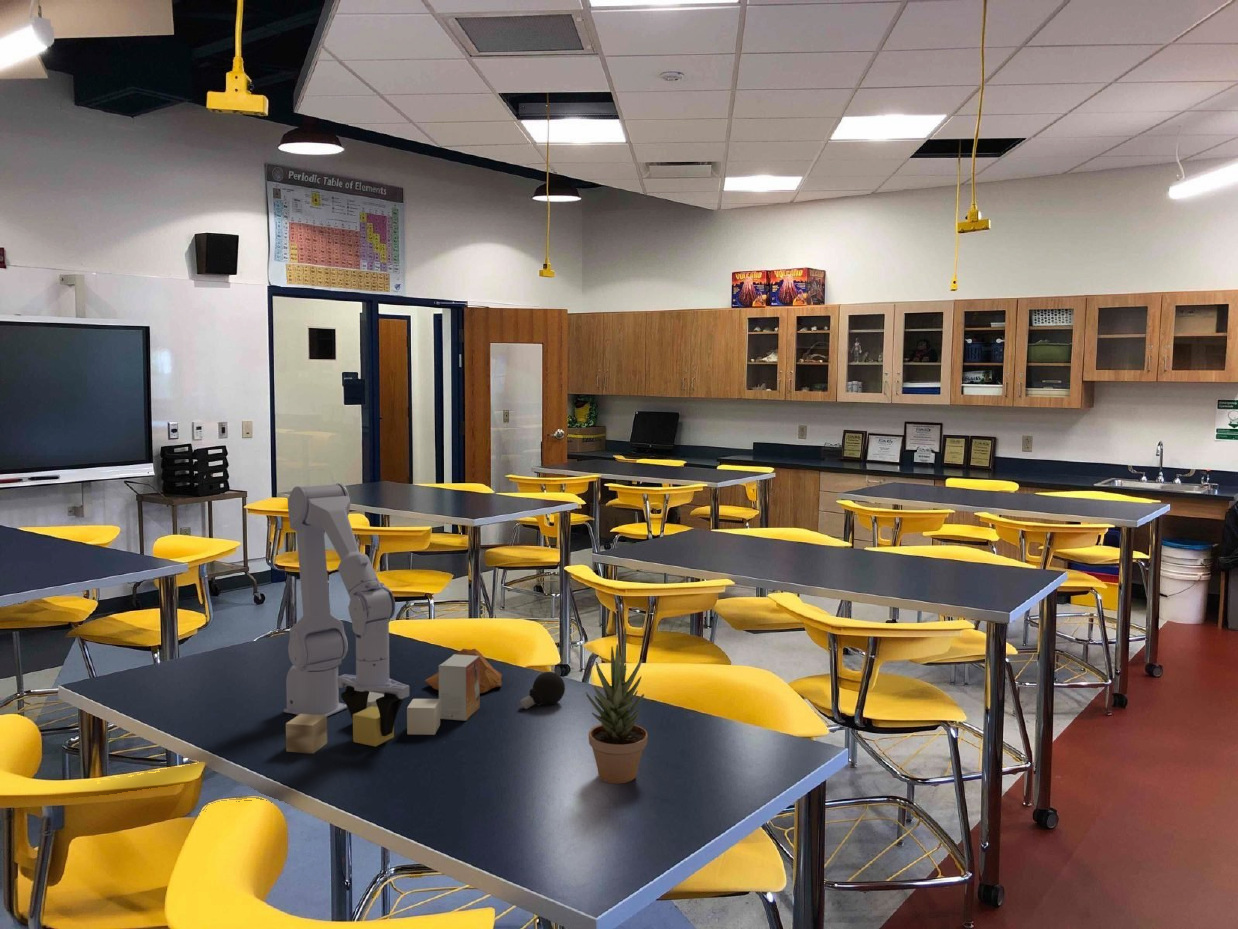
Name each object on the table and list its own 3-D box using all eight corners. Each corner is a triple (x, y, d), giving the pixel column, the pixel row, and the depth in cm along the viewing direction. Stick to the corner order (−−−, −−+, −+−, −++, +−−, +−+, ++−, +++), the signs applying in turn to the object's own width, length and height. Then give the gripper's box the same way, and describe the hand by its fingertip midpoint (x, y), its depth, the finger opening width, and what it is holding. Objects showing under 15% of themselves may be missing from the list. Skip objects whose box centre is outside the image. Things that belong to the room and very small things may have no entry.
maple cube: (286, 751, 164) (285, 723, 164) (300, 741, 169) (300, 713, 168) (313, 754, 163) (312, 725, 163) (327, 743, 168) (326, 715, 168)
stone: (513, 691, 204) (519, 656, 200) (469, 727, 193) (475, 690, 188) (460, 658, 210) (465, 623, 206) (414, 691, 199) (419, 654, 194)
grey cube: (353, 723, 178) (352, 697, 178) (374, 715, 182) (373, 690, 182) (371, 728, 175) (370, 702, 175) (392, 721, 179) (391, 695, 179)
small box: (466, 721, 179) (465, 667, 178) (438, 719, 180) (437, 665, 179) (480, 707, 187) (480, 655, 186) (453, 705, 188) (453, 653, 187)
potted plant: (627, 793, 148) (629, 638, 146) (577, 780, 153) (577, 629, 151) (659, 772, 157) (661, 624, 154) (610, 759, 162) (611, 616, 160)
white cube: (407, 734, 172) (407, 707, 172) (413, 725, 177) (413, 698, 177) (434, 735, 172) (434, 708, 172) (440, 725, 177) (440, 699, 177)
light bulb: (508, 686, 187) (549, 660, 192) (515, 711, 190) (555, 685, 195) (527, 701, 182) (568, 674, 187) (533, 726, 185) (573, 699, 190)
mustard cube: (353, 742, 169) (352, 714, 168) (371, 733, 173) (371, 706, 173) (375, 747, 166) (375, 719, 166) (393, 737, 171) (393, 710, 171)
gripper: (325, 657, 168) (326, 732, 169) (390, 668, 162) (391, 746, 163) (352, 647, 174) (353, 719, 176) (416, 657, 168) (417, 732, 169)
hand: (373, 731), depth 170 cm, fingers open, 5 cm apart
